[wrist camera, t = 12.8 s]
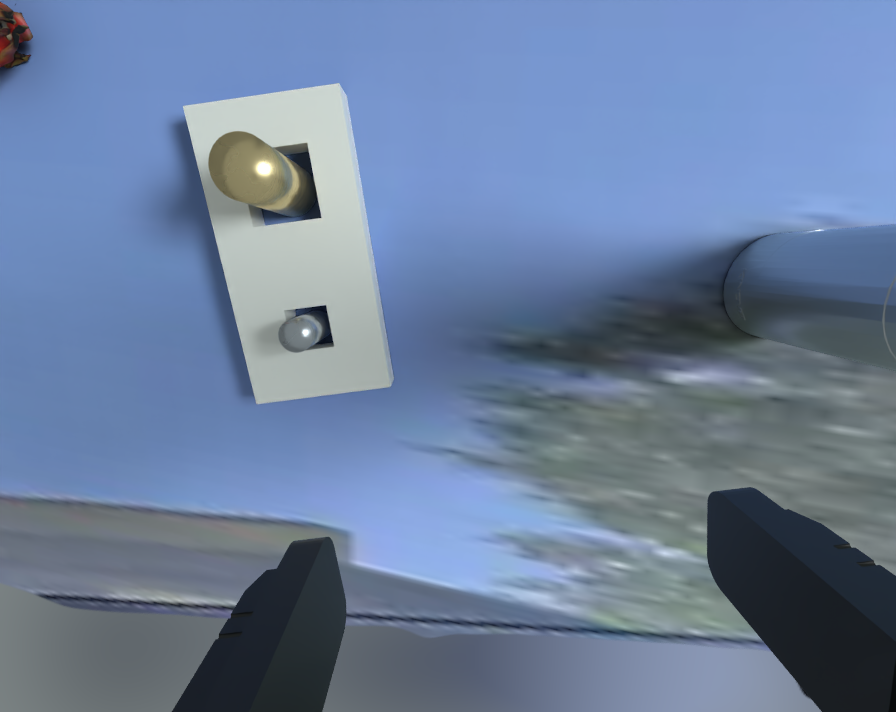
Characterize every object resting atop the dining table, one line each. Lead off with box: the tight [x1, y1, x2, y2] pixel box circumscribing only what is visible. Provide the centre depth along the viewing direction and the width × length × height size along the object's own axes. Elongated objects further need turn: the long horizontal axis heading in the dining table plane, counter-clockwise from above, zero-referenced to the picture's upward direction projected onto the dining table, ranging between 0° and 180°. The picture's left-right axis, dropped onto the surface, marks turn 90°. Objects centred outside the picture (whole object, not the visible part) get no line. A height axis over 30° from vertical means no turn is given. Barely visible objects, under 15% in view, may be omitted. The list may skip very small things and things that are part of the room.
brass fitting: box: [208, 131, 317, 217], centre depth 31 cm, size 4×4×9 cm
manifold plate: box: [183, 83, 394, 404], centre depth 36 cm, size 12×24×2 cm, turn 8°
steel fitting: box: [278, 310, 331, 353], centre depth 35 cm, size 3×3×6 cm
